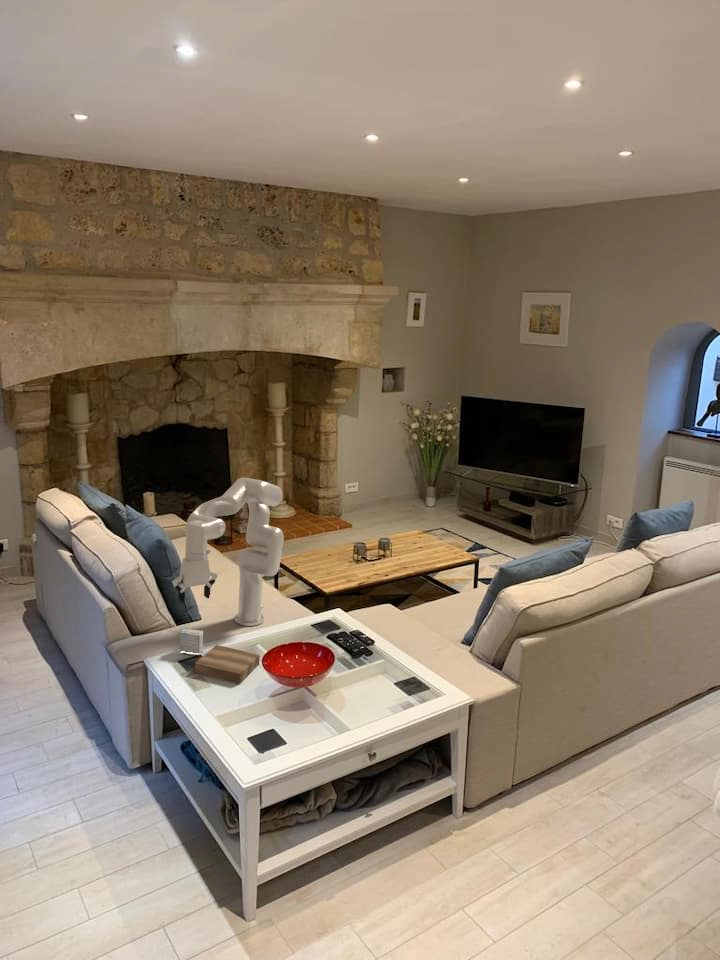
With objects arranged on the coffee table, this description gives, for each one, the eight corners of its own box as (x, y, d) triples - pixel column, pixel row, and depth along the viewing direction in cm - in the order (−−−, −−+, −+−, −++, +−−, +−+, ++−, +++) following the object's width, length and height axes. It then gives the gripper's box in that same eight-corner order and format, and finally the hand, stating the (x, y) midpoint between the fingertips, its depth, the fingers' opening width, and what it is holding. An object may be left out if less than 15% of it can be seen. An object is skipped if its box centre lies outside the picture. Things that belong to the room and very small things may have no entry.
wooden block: (216, 654, 277) (216, 644, 276) (259, 664, 272) (259, 654, 271) (194, 673, 262) (195, 663, 261) (239, 684, 257) (240, 674, 256)
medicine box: (203, 651, 278) (203, 630, 276) (199, 656, 274) (200, 635, 272) (183, 648, 279) (183, 628, 277) (179, 654, 274) (179, 633, 272)
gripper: (213, 548, 269) (211, 592, 273) (169, 554, 258) (167, 599, 262) (222, 555, 263) (220, 599, 267) (177, 561, 253) (176, 607, 257)
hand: (194, 599), depth 265 cm, fingers open, 9 cm apart
